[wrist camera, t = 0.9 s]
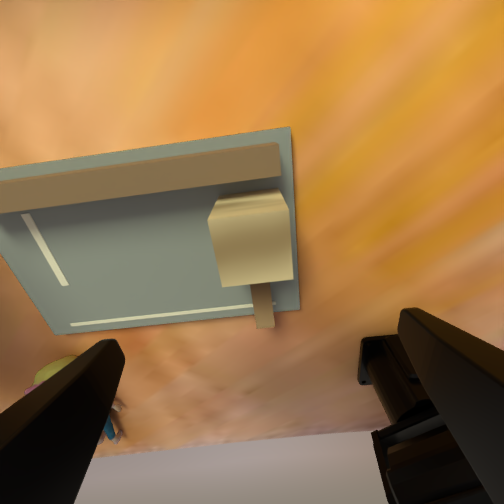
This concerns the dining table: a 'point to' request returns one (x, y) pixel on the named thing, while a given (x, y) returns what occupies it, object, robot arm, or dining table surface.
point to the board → (138, 231)
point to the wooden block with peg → (253, 245)
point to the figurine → (54, 368)
